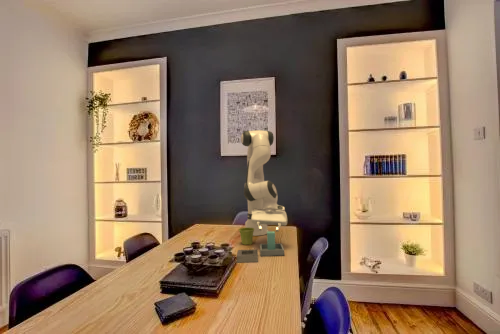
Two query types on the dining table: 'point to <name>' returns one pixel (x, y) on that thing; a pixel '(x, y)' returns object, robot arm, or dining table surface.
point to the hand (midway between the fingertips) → (268, 230)
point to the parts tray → (277, 252)
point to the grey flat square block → (247, 256)
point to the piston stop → (271, 240)
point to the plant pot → (246, 235)
